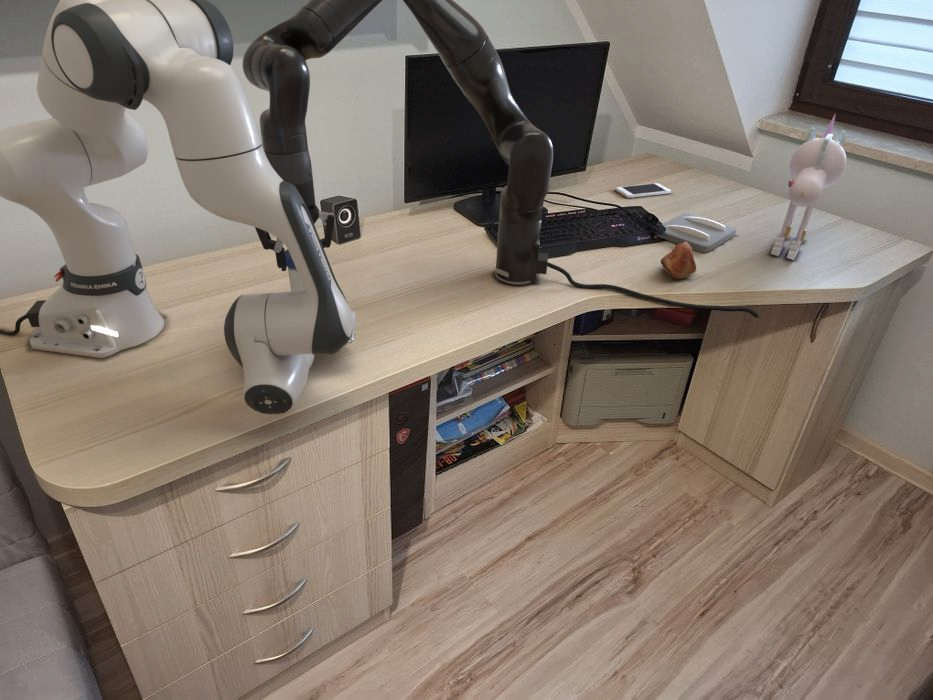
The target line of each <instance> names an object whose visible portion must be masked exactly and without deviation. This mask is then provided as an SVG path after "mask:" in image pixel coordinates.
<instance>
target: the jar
mask: <svg viewBox="0 0 933 700" xmlns="http://www.w3.org/2000/svg"><path fill="white" fill-rule="evenodd" d="M287 272H288V278H289V285H290V286H289V287H290V292H291V291H303V290H305V288H304V286H303V283H302V281H301V279H300V276H299V274H298V272H297V269H292V268H289V267H287Z"/></svg>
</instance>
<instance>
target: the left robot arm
mask: <svg viewBox="0 0 933 700" xmlns="http://www.w3.org/2000/svg"><path fill="white" fill-rule="evenodd" d="M233 57H234V39H233V35H232V32H231V28H230V26H229V24H228V22H227V19H226V18H225V16H224V15H223V12H221V11H220V9H219V8H218V7H217V6H216V5H215V4H214V3H213V2H211V1H209V0H59V1H58V3H57V5H56V7H55V8H54V10H53V13H52V16H51V18H50V21H49V23H48V27H47V30H46V32H45V36H44V41H43V46H42V52H41V57H40V64H39V68H38V69H39V70H38V77H37V82H36V92H37V96H38V98H39V102H40V103H41V105H42V107H43V108H44V110H45V111H46V112H47V114H49V115H50V118H47V119H41V120H36V121H32V122H27V123H22V124H17V125H12V126H9V127H6V128H3V129H1V130H0V197H1V198H2V199H4V200H6V201H9V202H11V203H14V204H17V205H20V206H23V207H24V208H26V209H29V211H31V212H33V213H34V214H36V215H37V216H38V217H39V218H40V219H41V220H42V221H43V222H44V223H45V224H46V226H47V227H48V228H49V229H50V232H51V233H52V234H53V237H54V239H55V241H56V244H57V246H58V248H59V250H60V252H61V255H62V258H63V260H64V265H63V266H61V267H60V268H59V271H58V272H57V273H56V274H54V276H53V278H55V282H56V283H58V282H59V281H60V280H61V279H62V280H63V281H62V285H61V286H60V287H59V288H58V289H56V290H55V291H54V292H53V293H52V294H50V296H49V297H48V298H47V299H44V300H41V299H40V300H36V301H35V303H33V304H32V306H31V307H30V308H29V309H28V310H27V312H26V313H25V314H24V315H22V316H20V317H19V318H18V319H17V320H16V322H15V325H14V330H12V331H6V330H3V329H0V334H1V335H4V336H16V335H18V334H19V333H20V331H21V324H22V323H23V322H24V321H25V320H28V322H29V324H30V327H31V328H35V329H34V330H33V332H32V333H31V335H30V337H29V344H30V348H31V349H32V350H39V351H45V352H46V351H47V352H53V353H54V352H55V353H60V354H69V355H75V356H76V355H77V356H83V357H89V358H98V359H104V358H107V357H111V356H113V355H114V354H117V353H118V352H120V351H123V350H126V349H130V348H134V347H137V346H140V345H142V344H144V343H146V342H149V341H151V340H152V339H154V338H155V337H156V336H158V335H159V334H160V333H161V332H162V331H163V329H164V327H165V319H164V317H163V316H162V315H161V313H160V312H159V310H158V309H157V307H156V305H155V303H154V301H153V299H152V297H151V294H150V292H149V290H148V287H147V281H146V280H147V279H146V275H145V272H144V268H143V265H142V262H141V259H140V256H139V255H138V254H137V253H136V250H135V247H134V242H133V238H132V236H131V232H130V228H129V225H128V222H127V220H126V219H125V217H124V215H122V214H121V213H120V212H119V211H118V210H116V209H115V208H112V207H110V206H108V205H104V204H99V203H96V202H95V203H94V202H89V200H88V198H87V196H86V193H85V188H87V187H90V186H94V185H97V184H100V183H103V182H107V181H111V180H115V179H118V178H121V177H123V176H125V175H127V174H130V173H131V172H133V171H135V170H136V169H138V168H139V167H141V166H143V165H144V164H145V163H146V162H147V159H148V155H149V142H148V141H149V140H148V138H147V135H146V132H145V131H144V129H143V127H142V125H140V123H139V122H138V121H137V120H136V119H135V118H134V117H133V116H132V115H130V114H129V113H128V112H126V109H128V110H132V111H135V110H137V109H139V107H140V106H141V104H142V102H143V101H146V102H148V103H149V104H150V105H152V106H153V107H155V109H156V110H158V112H159V113H160V115H161V116H162V118H163V120H164V123H165V125H166V129H167V133H168V136H169V141H170V144H171V149H172V151H173V155H174V158H175V162H176V165H177V169H178V171H179V175H180V178H181V180H182V183H183V186H184V188H185V189H186V191H187V193H188V195H189V196H190V198H191V199H192V200H193V201H194V202H195V204H197V205H198V206H200V207H201V208H203V210H206V211H207V212H209V213H211V214H213V215H214V216H216V217H219V218H222V219H224V220H227V221H231V222H236V223H240V224H242V225H247V226H251V227H253V228H255V227H256V228H259V229H262V230H264V231H266V232H269V234H270V235H272V236H274V237H276V239H277V238H278V239H280V240H281V241H282V242H283V245H284V246H285V247H286V250H287V249H288V250H289V253H290V255H291V257H292V260H293V262H294V264H295V267H296V269H297V272H298V274H299V276H300V279H301V281H302V283H303V286H304V288H305V290H303V291H291V290H290V291H279V292H271V291H270V292H260V293H259V292H258V293H249V294H241V295H239V296H238V297H237V298H236V299H235V300H234V301H233V303H232V304H231V306H230V308H229V309H228V311H227V313H226V316H225V319H224V324H223V335H224V339H225V343H226V346H227V349H228V351H229V352H230V354H231V356H232V357H233V358H234V360H235V361H236V363H238V365H239V366H240V367H241V368H242V370H243V385H242V386H243V387H242V395H243V396H242V397H243V400H244V402H245V404H246V405H247V406H248V407H249V408H250V409H251V410H253V411H255V412H257V413H260V414H264V415H282V414H286V413H287V412H289V411H290V410H292V409H293V408H294V407H295V406H296V404H297V403H298V402H299V400H300V398H301V396H302V393H303V391H304V390H305V387H306V385H307V381H308V378H309V375H310V374H309V373H310V368H311V367H312V364H313V362H314V359H315V356H334V355H336V354H337V353H338V352H340V351H341V350H342V349H343V348H344V347H345V346H346V345H348V344H353V342H354V340H355V336H356V330H357V328H358V327H357V325H358V323H357V322H358V321H357V314H356V312H355V310H352V309H351V308H350V305H349V302H348V301H347V298H346V296H345V294H344V292H343V290H342V288H341V287H340V285H339V283H338V281H337V278H336V276H335V274H334V271H333V268H332V266H331V263H330V261H329V258H328V255H327V254H326V253H327V252H326V250H325V248H323V246H322V243H321V240H320V239H321V238H320V236H319V233H318V230H317V228H316V226H315V225H316V224H314V223H313V221H312V218H311V216H310V214H309V211H308V209H307V207H306V205H305V202H304V200H303V198H302V197H301V195H300V193H299V192H298V190H297V189H296V187H295V186H294V185H292V184H290V183H288V182H285V181H284V180H283V179H282V178H281V177H280V176H279V175H278V174H277V173H276V172H275V170H274V169H273V167H272V166H271V164H270V163H269V161H268V159H267V157H266V154H265V152H264V149H263V145H262V138H261V132H260V128H259V126H258V123H257V119H256V116H255V113H254V110H253V107H252V105H251V102H250V99H249V96H248V95H247V92H246V89H245V87H244V85H243V82H242V80H241V78H240V76H239V74H238V73H237V71H236V70H235V69H234V67H232V66H231V65H232V61H233Z"/></svg>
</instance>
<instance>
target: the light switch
mask: <svg viewBox="0 0 933 700" xmlns="http://www.w3.org/2000/svg"><path fill="white" fill-rule="evenodd" d="M661 224H662V225H663V226H664V227H665V228H666V231H665V234H667V235H668V237H665V236H662V235H658V236H657V235H654V236H655V237H657V238H659V239H663V240H665V241H669V242H671V243H674V244H676V245H678V244H681V243H684V242H685V241H687V242H688V243H689V245H690V246H691V248H692V250H694V251H697V252H699V253H709V252H711V251H712V250H714V249H716V248H717V247H719V246H720V245H722V244H724V243H725V242H727V241H730V239H732V238H734V237H736V234H737V228H736V227H734V226H732V225H729V224H725V223H722V222H719V221H716V220H713V219H710V218H707V217H703V216H700V215H697V214H694V213H690V212H683V213H682V214H679V215H677V216H675V217H673V218H671V219H669V220H668V221H666V222H663V223H661Z"/></svg>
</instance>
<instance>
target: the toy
mask: <svg viewBox="0 0 933 700" xmlns="http://www.w3.org/2000/svg"><path fill="white" fill-rule="evenodd" d="M836 116H837V115H836V112H835V113H834V115H833V116H832V119H831V120H830V122H829V124H828V126H827V128H826V130H825V131H824V133H823V134H822V136H821V137H817V138H816V136H817V128H815V127H810V129H809V130H808V133H807V135H806V136H805V142H804V143H802V144H801V145H800V146H798V148H797V149H796V150H795V151H794V152H793V154H792V156H791V159H790V162H789V173H790V175H791V178H792V180H789V181H788V188H789V189H788V198H789V201H790V202H789V205H788V209H787V212H786V215H785V218H784V221H783V223H782V227H781V230H780V233H779V235H777V236H776V239H775V241H774V243H773V246H772V249H771V253H770V255H772V256H776V257H779V255H780V253H781V252H782V249H783V248H784V246H785V242H786V240H789V238H790V234H791V232H792V227H793V225H792V223H793V219H794V217H795V213H796V211H797V208H798V207H801V208H802V207H804V208H805V210H804V213H803V216H802V219H801V222H800V225H799V227H798V230H797V233H796V237H795V239H793V240H792V242H791V245H790V247H789V250H788V253H787V256H786V259H788V260H792V261H794V260H795V259H796V257H797V255H798V253H799V251H800V249H801V245H802V244H803V243H804V240H805V238H806V235H807V231H808V228H807V227H808V224H809V221H810V218H811V215H812V212H813V209H814V207H815V204H816V202H817V201H818V200H819V199H820V197H821V195H822V193H823V191H824V189H827V188H828V187H831V186H832V185H834V184H835V183H836V182H837V181H838V180H840V178H841V177H842V176H843V174H844V173H845V170H846V168H847V167H846V166H847V154H846V152H845V150H844V148H843V145H844V143H845V141H846V140H847V134H846V131H845V130H840V131H839V132H838V133H837V135H836V137H835V139H833V129H834V125H835V120H836ZM841 135H842V138H841V141H840V137H841Z"/></svg>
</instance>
